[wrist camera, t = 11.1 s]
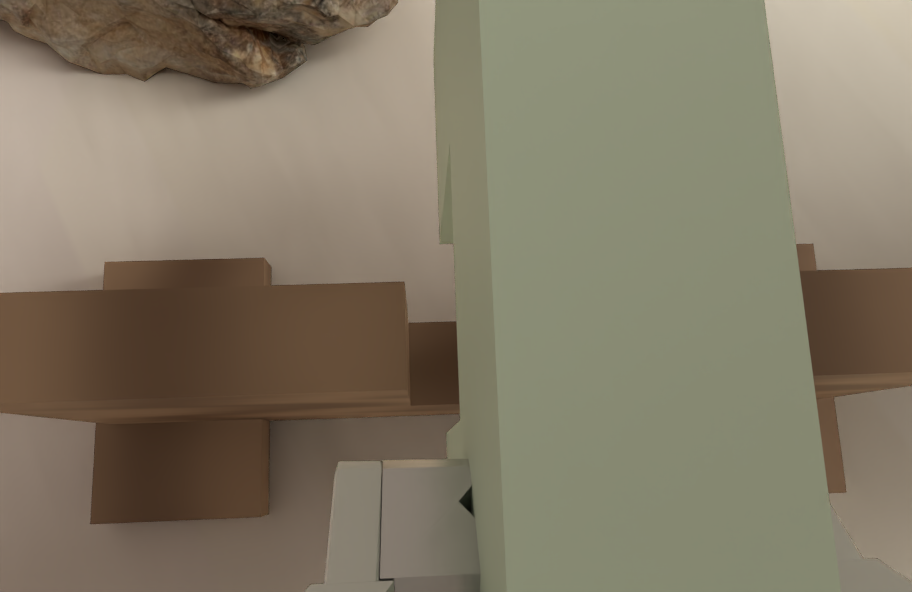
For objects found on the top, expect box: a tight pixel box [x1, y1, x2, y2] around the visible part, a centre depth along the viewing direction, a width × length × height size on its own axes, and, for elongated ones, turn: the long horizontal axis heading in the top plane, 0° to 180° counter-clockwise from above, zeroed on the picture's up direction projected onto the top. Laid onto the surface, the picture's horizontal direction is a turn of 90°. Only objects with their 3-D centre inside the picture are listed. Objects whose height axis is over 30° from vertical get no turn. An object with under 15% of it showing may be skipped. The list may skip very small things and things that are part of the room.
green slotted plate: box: [434, 0, 841, 592], centre depth 11 cm, size 12×2×10 cm, turn 2°
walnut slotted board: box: [0, 244, 912, 524], centre depth 21 cm, size 23×8×10 cm, turn 92°
